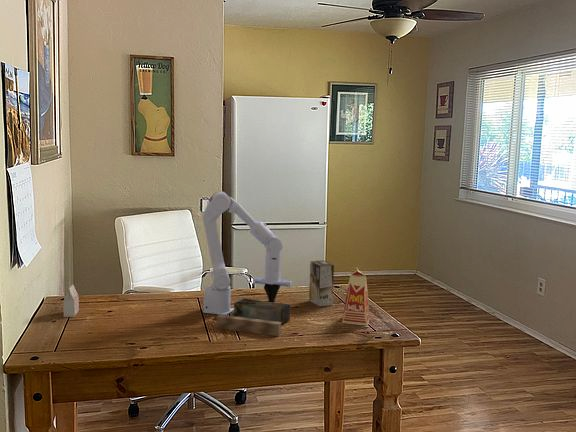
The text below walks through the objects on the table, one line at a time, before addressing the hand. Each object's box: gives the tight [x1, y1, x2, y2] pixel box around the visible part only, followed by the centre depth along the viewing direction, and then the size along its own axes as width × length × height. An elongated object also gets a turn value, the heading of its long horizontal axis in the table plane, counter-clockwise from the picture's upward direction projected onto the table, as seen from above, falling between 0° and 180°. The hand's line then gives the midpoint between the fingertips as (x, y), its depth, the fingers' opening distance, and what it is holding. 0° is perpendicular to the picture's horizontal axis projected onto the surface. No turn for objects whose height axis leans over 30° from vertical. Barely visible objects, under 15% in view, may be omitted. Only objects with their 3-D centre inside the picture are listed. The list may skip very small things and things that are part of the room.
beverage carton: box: [233, 297, 291, 327], centre depth 208 cm, size 8×19×7 cm, turn 67°
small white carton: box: [62, 284, 80, 318], centre depth 208 cm, size 4×7×10 cm, turn 8°
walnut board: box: [216, 314, 282, 337], centre depth 195 cm, size 22×2×4 cm, turn 73°
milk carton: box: [341, 267, 370, 327], centre depth 208 cm, size 9×9×20 cm
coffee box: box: [308, 260, 335, 307], centre depth 230 cm, size 9×6×16 cm
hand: (271, 303), depth 219 cm, fingers closed
